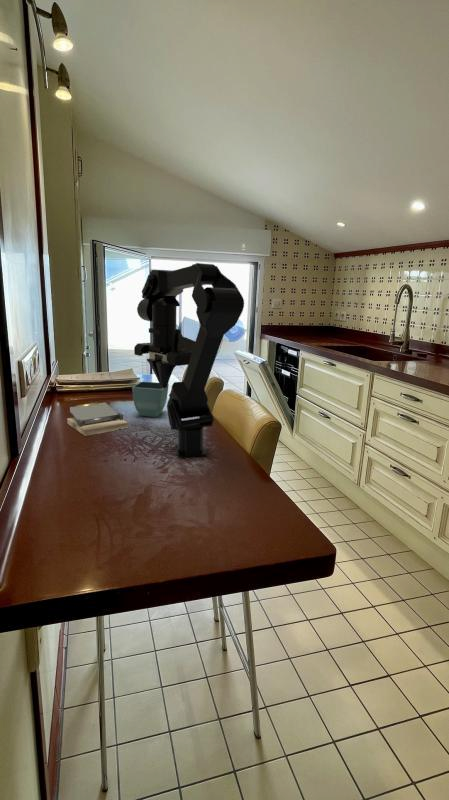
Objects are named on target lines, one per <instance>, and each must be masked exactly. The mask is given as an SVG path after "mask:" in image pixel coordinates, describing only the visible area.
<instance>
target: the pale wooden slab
mask: <svg viewBox="0 0 449 800" xmlns="http://www.w3.org/2000/svg"><path fill="white" fill-rule="evenodd" d="M117 414H118V417H119V419H115V420H109V421H103V422H97V423H91V424H85V425H83V421H82V420H80V419H78V420H77V419H76V418H75V416H73V417H69V418H68V417H67V421H66V423H67V424H68V426H70V427H71V428H73V429H74V430H76V431H77V432H79V433H80V434H82V435H83V436H85V437H87V436H93V435H100V434H103V433H104V434H105V433H110V432H114V431H115V430H116V431H120V430H119V429H121V430H125V429H124V428H126V429H129V427H130V426H129V421H126V420H125V419H124V414H123V413H121V412H118V413H117Z"/></svg>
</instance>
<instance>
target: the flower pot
mask: <svg viewBox="0 0 449 800" xmlns="http://www.w3.org/2000/svg"><path fill="white" fill-rule="evenodd" d="M169 387H170V386H169V383H168V385H167V387H166V388H162V387H161V386H160V384H159V382H152V381H139V382H138V383H136V384H135V385H133V386H132V388H131V390H132V391H131V392H132V397H133V405H134V408H135V410H136V411H137V413H138V414H139V416H140V417H141V416H142V417H151V418H158V416H159V415H161V413H162V412H163V410H164V408H165V406H166V404H167V400H168V395H169V394H168V393H169Z"/></svg>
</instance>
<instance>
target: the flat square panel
mask: <svg viewBox="0 0 449 800" xmlns="http://www.w3.org/2000/svg"><path fill="white" fill-rule="evenodd" d="M69 412H70V414H71V415H72V416H73V417H75V418H76V419H77V420H78V419H80V420H82V421H83V425H85V424H91V423H97V422H103V421H109V420H115V419H119V417H118V413H117V412H116V411H115V410H114V409H113V408H112V407H111V406H110V405H109V404H108V403H106V402H92V403H84V404H77V405H76V406H70V407H69Z"/></svg>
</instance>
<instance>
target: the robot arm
mask: <svg viewBox="0 0 449 800" xmlns="http://www.w3.org/2000/svg"><path fill="white" fill-rule="evenodd" d="M207 285H209V286H207ZM204 286H207V287H205V288H204ZM210 286H211V287H210ZM191 288H193V289H192V293H191V298H192V300H193V301H194V304H195V305H196V313H195V314H196V316H197V318H198V322H199V328H198V329H199V330H198V333H197V335H196V339H195V340H193V339H190V338H188V337H185V336H183V334H182V331H181V330H180V328H179V329H178V328H177V307H180V306H181V305H180V301H178V299H176V298H177V296H178V295H181V294H182V293H183V292H184V289H185V290H186V289H191ZM141 294H142V295H141V298H142V299H141V300H140V301H139V303H138V305H137V306H136V307H137V308H136V312H137V315H138V316H139V317H140V318H141V320H144V321H147V322H150V323H151V324H152V326H151V327H150V328H148V333H150V334H151V335H152V336H151V338H152V339H151V340H152V342H140V343H136V344H135V345H134V347H133V348H134V355H135V356H139V357H141V356H143V355H146V354H149V355H148V357H149V358H146V362H148V364H149V366H150V368H151V369H152V371H153V374H154V375H155V377H156V380H157V382H158V383H159V384H160V386H161V387H162V388H166V387H167V385H168V384H169V381H170V379H171V376H172V374H173V371H174V369H175V367H181V366H186V371H185V374H184V376H183V377H184V378H183V380H182V381H173V383H172V385H171V390H170V393H169V394H168V397H169V398H168V399H167V400H168V401H167V402H166V410H167V416H168V423H169V426H170V429H171V430H174V431H177V445H176V444H175V445H174V450H175V452H176V454H177V457H178V458H189V457H206V456H207V455H208V452H207V451H206V448H205V447H204V433H205V432H204V428H207V427H213V423H214V419H215V418H214V416H213V413H212V411H211V409H210V407H209V405H208V402H209V398H208V396H207V392H206V387H207V383H208V380H209V379H210V378H209V377H210V376H211V375H210V374H211V372H212V369H213V367H214V364H215V360H216V357H217V355H218V352H219V349H220V347H221V343H222V341H223V338H224V336H225V334H226V333H228V332H230V330H231V329H232V328H234V327H235V326H237V325H236V324H237V323H238V321H239V319H240V317H241V315H242V313H243V310H244V307H245V299H244V297H243V295H242V293H241V292H240V290H239V288H238V287H237V285H236V284H235V282H233V281H232V280H231V279H230V278H228V277H227V276H226V275H224V274H223V273H222V272H221V270H220V268H219V267H218V266H217V265H215V264H212V263H203V262H201V263H200V262H195V263H193V264H192V265H189V266H186V267H182V268H178V269H173V270H165V269H151V270H150V272H149V274H148V275H147V277H146V281H145V283H144V286H143V287H142V290H141ZM183 419H185V420H183Z"/></svg>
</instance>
